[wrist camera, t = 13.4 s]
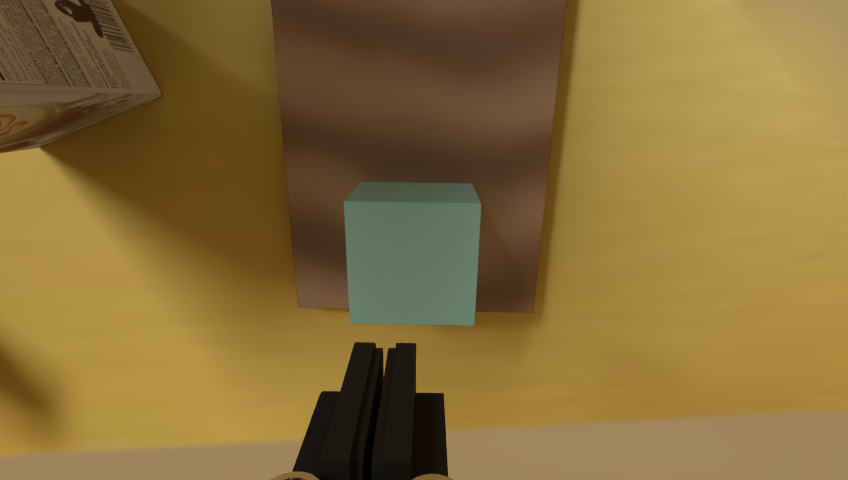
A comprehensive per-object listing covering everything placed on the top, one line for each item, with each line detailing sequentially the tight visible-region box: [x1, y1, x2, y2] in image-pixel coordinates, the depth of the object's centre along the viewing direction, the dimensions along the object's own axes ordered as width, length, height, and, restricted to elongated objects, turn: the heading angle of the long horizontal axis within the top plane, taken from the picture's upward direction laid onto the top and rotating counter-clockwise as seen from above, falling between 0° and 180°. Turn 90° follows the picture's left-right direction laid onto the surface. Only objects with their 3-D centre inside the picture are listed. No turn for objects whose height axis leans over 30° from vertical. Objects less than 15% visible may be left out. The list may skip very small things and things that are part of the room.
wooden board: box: [271, 0, 566, 313], centre depth 23 cm, size 20×15×5 cm
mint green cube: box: [344, 182, 481, 326], centre depth 23 cm, size 6×6×5 cm
